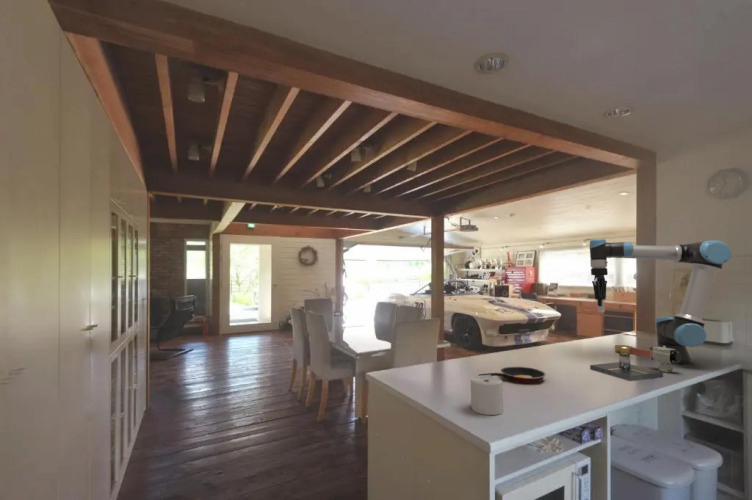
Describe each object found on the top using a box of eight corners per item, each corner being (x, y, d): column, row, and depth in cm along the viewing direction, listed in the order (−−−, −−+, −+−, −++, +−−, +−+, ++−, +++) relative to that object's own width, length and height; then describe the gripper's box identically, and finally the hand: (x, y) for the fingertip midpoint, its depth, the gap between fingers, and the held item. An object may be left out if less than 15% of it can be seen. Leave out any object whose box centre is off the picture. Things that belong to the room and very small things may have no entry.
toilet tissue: (478, 416, 116) (477, 385, 117) (465, 403, 128) (464, 375, 129) (509, 414, 117) (508, 384, 118) (493, 402, 129) (492, 374, 130)
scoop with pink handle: (612, 352, 168) (611, 345, 168) (619, 350, 171) (619, 344, 171) (647, 358, 155) (647, 351, 155) (655, 356, 159) (654, 349, 159)
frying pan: (556, 383, 152) (556, 374, 152) (492, 390, 143) (491, 380, 143) (526, 371, 170) (526, 363, 170) (467, 377, 161) (467, 369, 161)
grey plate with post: (621, 365, 178) (620, 347, 179) (663, 376, 159) (661, 356, 160) (590, 369, 172) (589, 350, 173) (629, 380, 153) (628, 359, 154)
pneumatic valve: (655, 368, 174) (653, 343, 175) (683, 374, 163) (681, 347, 164) (648, 369, 172) (646, 344, 173) (675, 375, 161) (673, 348, 162)
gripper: (601, 267, 182) (604, 313, 180) (611, 267, 190) (614, 311, 188) (586, 267, 188) (588, 312, 186) (596, 268, 196) (598, 310, 194)
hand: (601, 312), depth 187 cm, fingers closed
